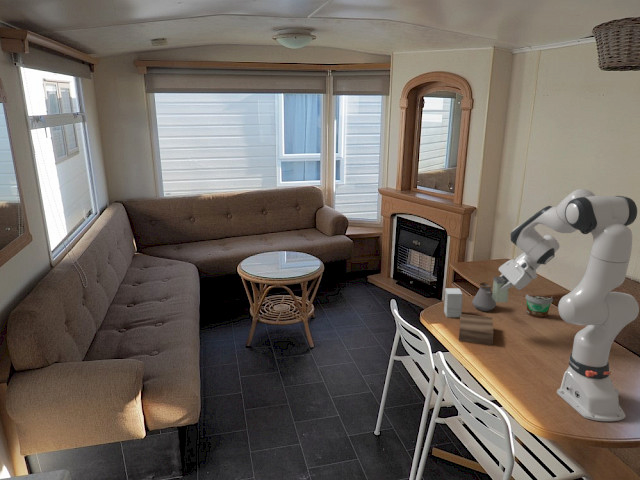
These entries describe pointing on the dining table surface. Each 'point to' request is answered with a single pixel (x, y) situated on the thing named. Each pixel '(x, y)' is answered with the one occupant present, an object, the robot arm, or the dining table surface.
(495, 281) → the sage tea tin
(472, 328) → the walnut box
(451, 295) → the supplement box
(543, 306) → the food container
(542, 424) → the dining table surface
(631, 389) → the dining table surface
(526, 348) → the dining table surface
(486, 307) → the coffee pot
